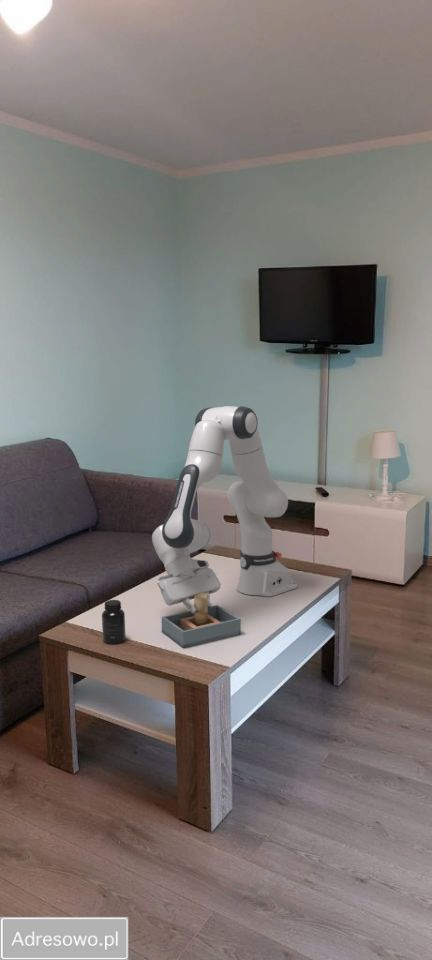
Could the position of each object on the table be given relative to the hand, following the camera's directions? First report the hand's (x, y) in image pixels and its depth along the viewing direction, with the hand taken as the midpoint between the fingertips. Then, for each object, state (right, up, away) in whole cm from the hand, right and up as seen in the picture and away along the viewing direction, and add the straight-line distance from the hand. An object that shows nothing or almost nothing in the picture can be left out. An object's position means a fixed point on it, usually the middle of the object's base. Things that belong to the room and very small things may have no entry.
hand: (202, 609), depth 221 cm
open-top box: (0, -8, +2) cm, 8 cm away
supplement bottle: (-27, -9, -3) cm, 28 cm away
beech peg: (0, -5, +1) cm, 5 cm away
